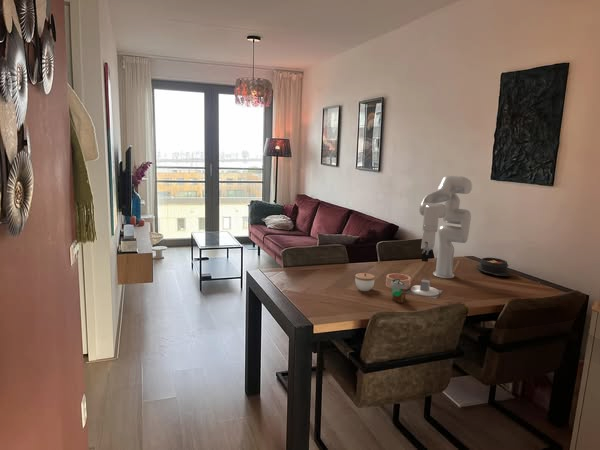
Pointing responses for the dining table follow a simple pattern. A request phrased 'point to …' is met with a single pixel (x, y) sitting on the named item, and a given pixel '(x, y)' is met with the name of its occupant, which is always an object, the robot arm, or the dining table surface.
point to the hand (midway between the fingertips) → (427, 259)
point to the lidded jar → (364, 281)
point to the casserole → (494, 266)
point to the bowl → (403, 278)
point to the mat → (425, 296)
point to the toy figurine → (398, 291)
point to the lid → (424, 289)
